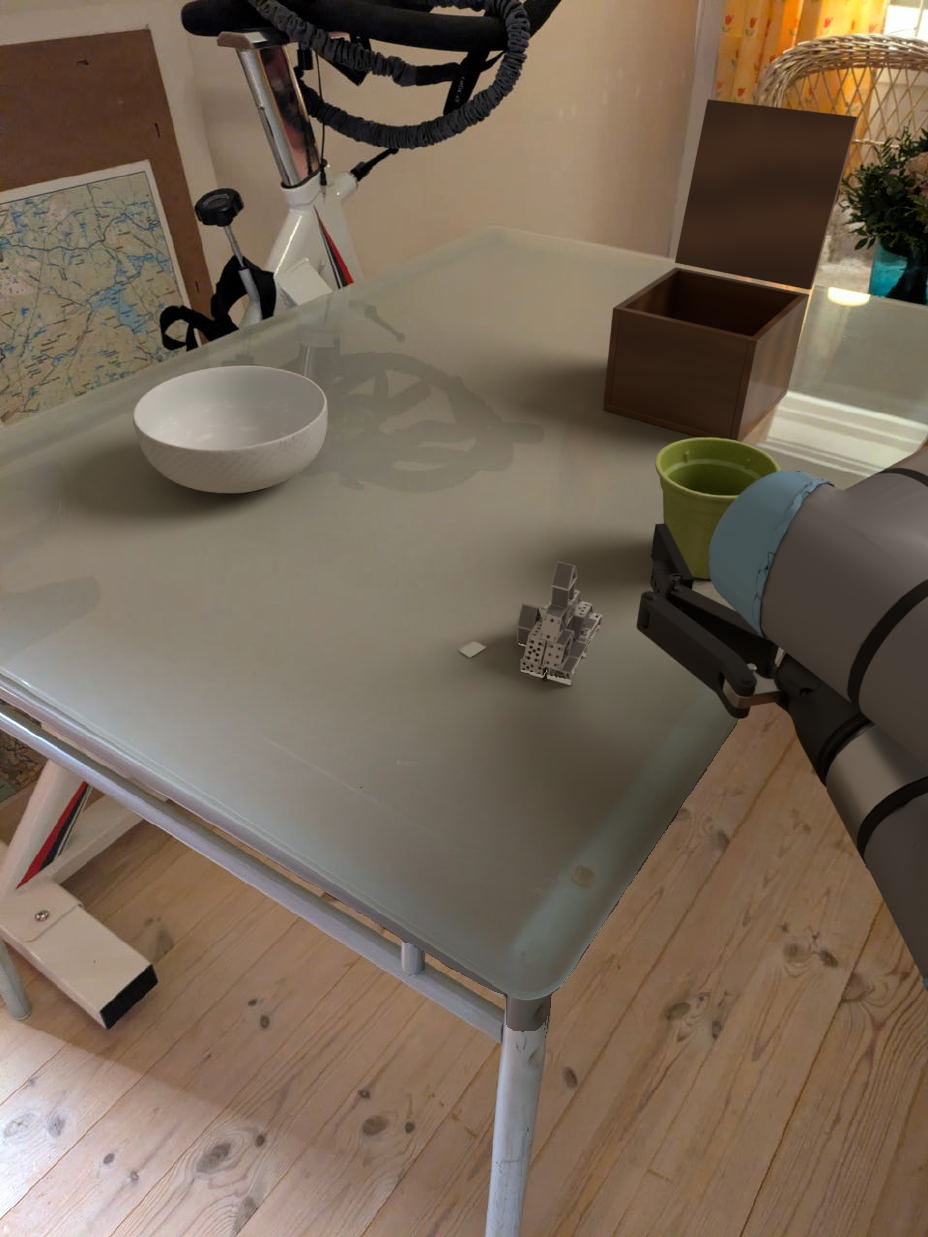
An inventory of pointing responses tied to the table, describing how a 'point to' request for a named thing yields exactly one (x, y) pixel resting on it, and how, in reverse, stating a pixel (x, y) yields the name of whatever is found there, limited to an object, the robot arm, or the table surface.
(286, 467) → the cereal bowl
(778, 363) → the chest
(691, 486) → the plant pot
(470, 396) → the table surface
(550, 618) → the house of cards
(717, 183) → the chest lid
